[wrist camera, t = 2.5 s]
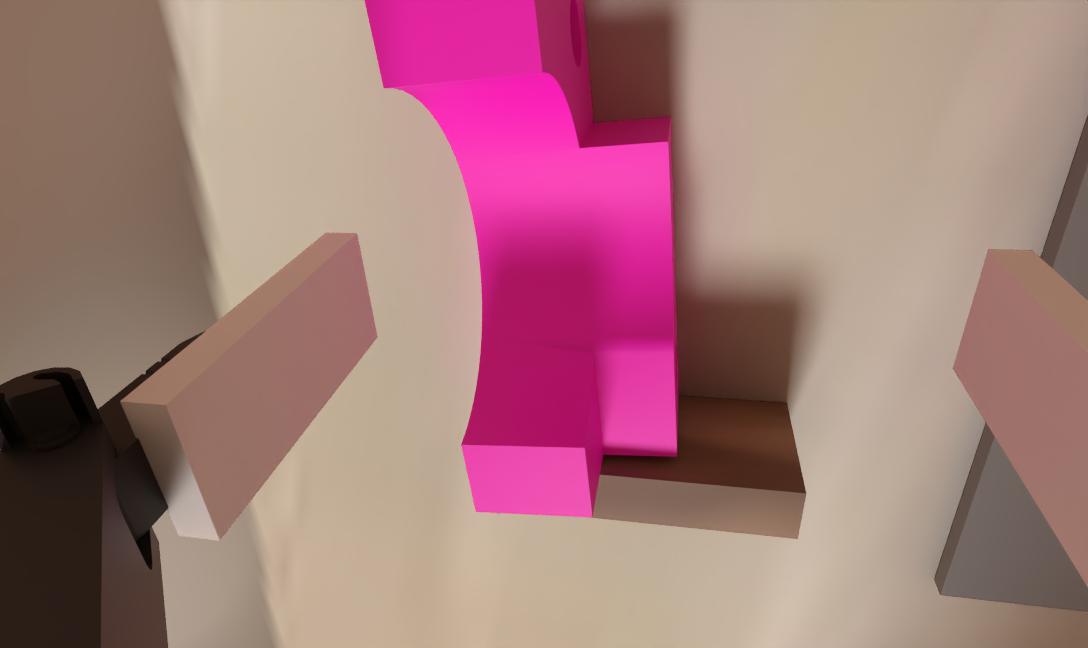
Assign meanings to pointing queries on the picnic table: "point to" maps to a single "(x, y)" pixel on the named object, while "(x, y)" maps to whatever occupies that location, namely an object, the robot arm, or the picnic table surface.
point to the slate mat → (994, 485)
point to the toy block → (549, 245)
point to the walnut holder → (713, 473)
